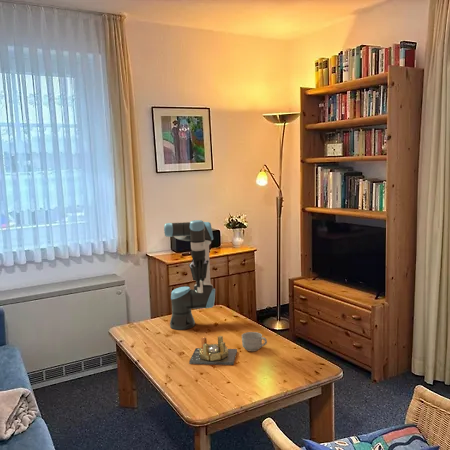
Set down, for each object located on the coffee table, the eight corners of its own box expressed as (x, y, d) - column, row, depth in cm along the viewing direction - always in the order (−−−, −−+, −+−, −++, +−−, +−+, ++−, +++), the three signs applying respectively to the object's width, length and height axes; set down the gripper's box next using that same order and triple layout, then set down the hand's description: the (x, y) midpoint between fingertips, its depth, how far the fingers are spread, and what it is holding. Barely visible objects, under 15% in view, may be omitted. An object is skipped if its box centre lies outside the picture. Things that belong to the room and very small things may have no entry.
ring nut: (193, 356, 243) (193, 342, 241) (211, 346, 254) (210, 333, 253) (216, 362, 234) (215, 348, 233) (233, 352, 245) (232, 338, 244)
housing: (195, 350, 254) (195, 340, 253) (237, 351, 250) (236, 341, 250) (189, 364, 238) (188, 353, 237) (233, 365, 235) (232, 354, 234)
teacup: (238, 349, 253) (237, 335, 252) (251, 343, 261) (250, 329, 259) (258, 356, 243) (258, 341, 242) (271, 349, 251) (271, 335, 250)
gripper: (194, 252, 247) (196, 296, 251) (211, 248, 256) (213, 290, 260) (184, 250, 252) (186, 294, 256) (202, 246, 261) (204, 288, 265)
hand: (200, 292), depth 258 cm, fingers closed
